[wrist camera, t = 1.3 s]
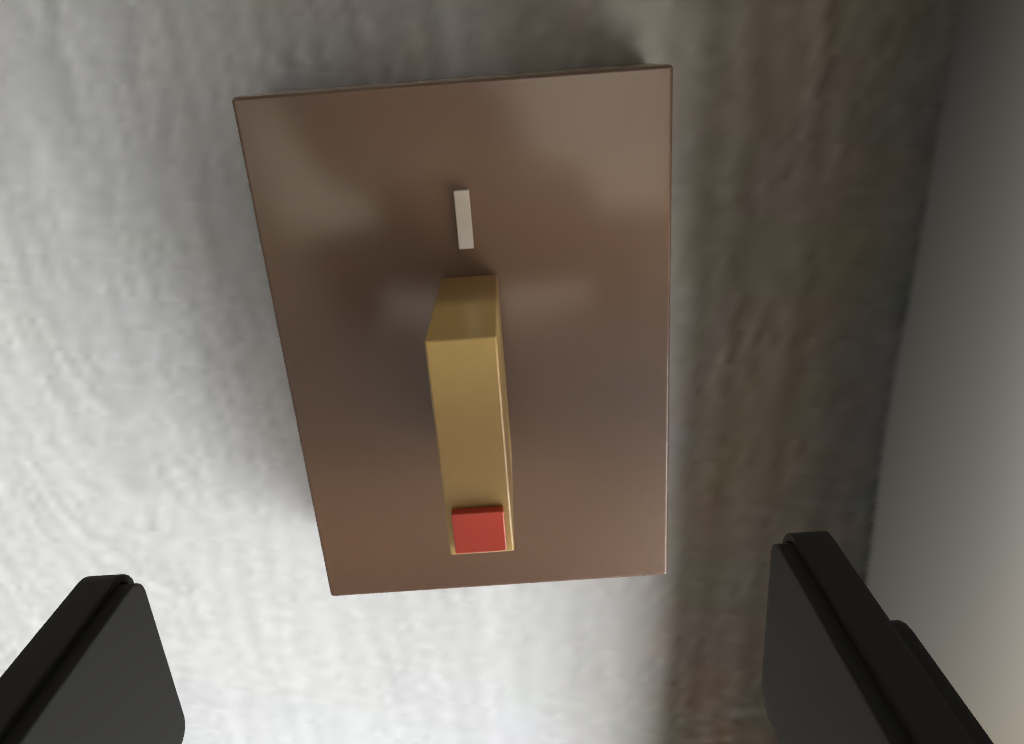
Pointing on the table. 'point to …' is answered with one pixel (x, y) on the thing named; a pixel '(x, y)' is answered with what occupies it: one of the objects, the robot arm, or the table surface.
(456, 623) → the table surface
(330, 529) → the lock plate
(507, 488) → the thumbturn
